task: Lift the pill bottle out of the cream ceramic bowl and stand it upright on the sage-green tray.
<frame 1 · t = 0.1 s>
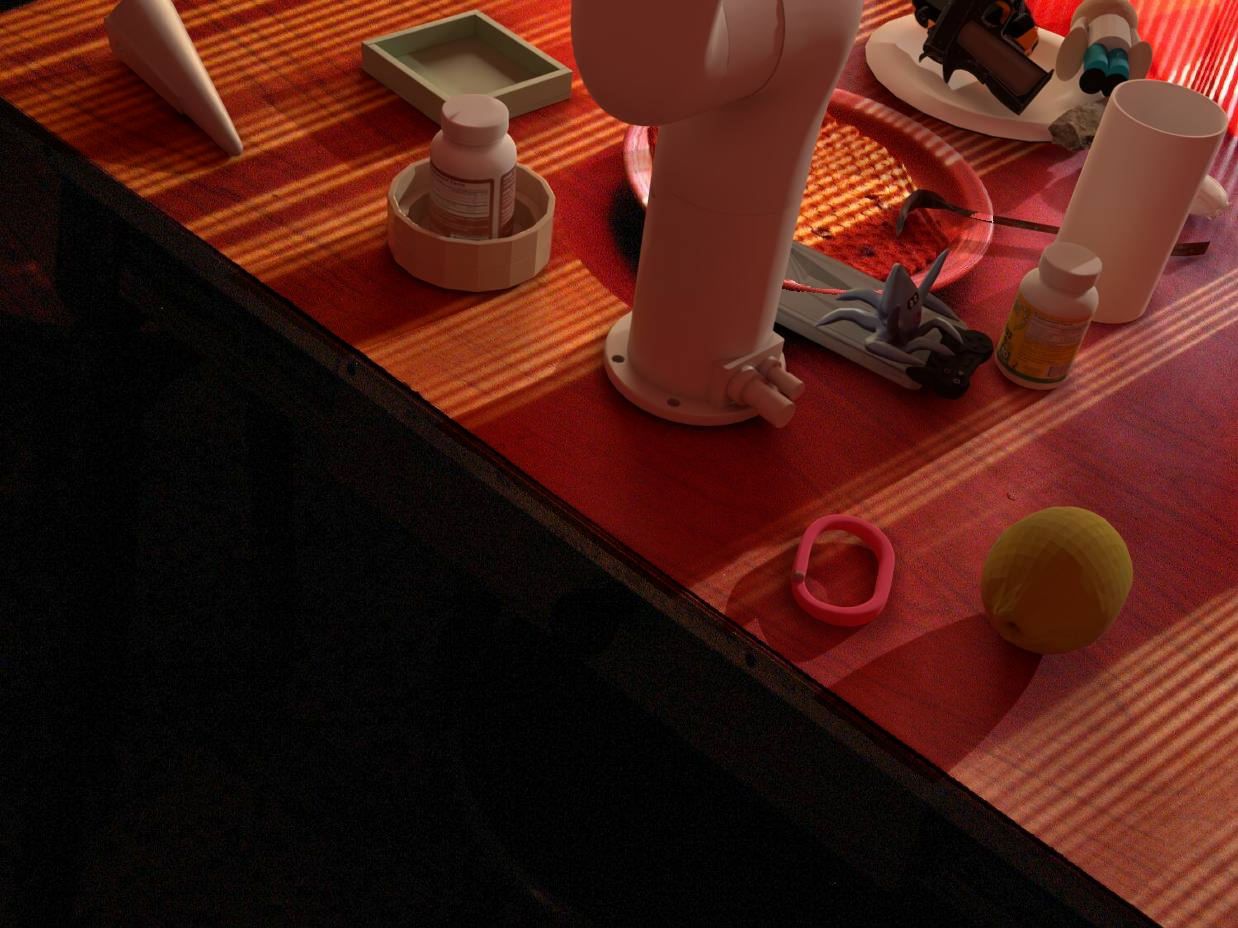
plate: (990, 88, 132), on the table, touching stone, toy, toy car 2
supplement bottle: (1028, 370, 100), on the table
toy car: (1157, 192, 121), on the table, touching stone
stone: (1105, 149, 123), point 1 cm above the table, touching plate, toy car
cup: (1092, 293, 108), on the table
long tapered cone: (200, 102, 115), on the table
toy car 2: (973, 13, 130), point 6 cm above the table, touching handgun, plate
figurine: (890, 363, 97), point 1 cm above the table, touching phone
fitness band: (840, 578, 83), on the table
pill bottle: (470, 245, 104), resting on bowl
tray: (466, 83, 122), on the table
toy: (1106, 80, 125), point 5 cm above the table, touching plate
handgun: (1074, 37, 126), point 7 cm above the table, touching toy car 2
lemon: (1029, 628, 82), on the table
bowl: (470, 247, 104), on the table
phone: (850, 302, 101), point 2 cm above the table, touching figurine
crowbar: (1058, 254, 110), point 1 cm above the table
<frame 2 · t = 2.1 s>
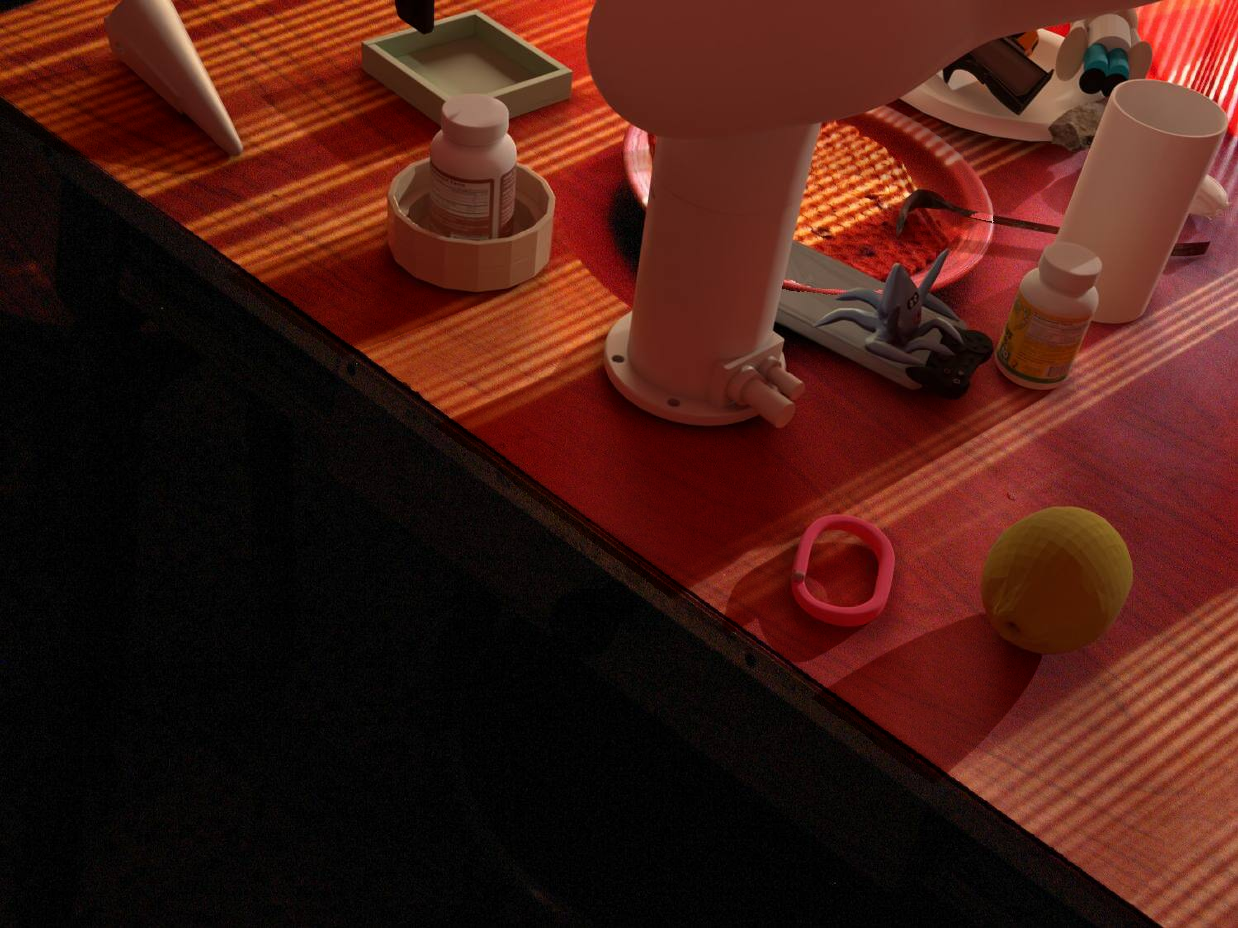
hand: (475, 8, 91), 19 cm above the table, tool pointing down, fingers open, 9 cm apart
plate: (990, 88, 132), on the table, touching handgun, stone, toy, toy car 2
handgun: (1074, 38, 126), point 7 cm above the table, touching plate, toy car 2
everything else where it was.
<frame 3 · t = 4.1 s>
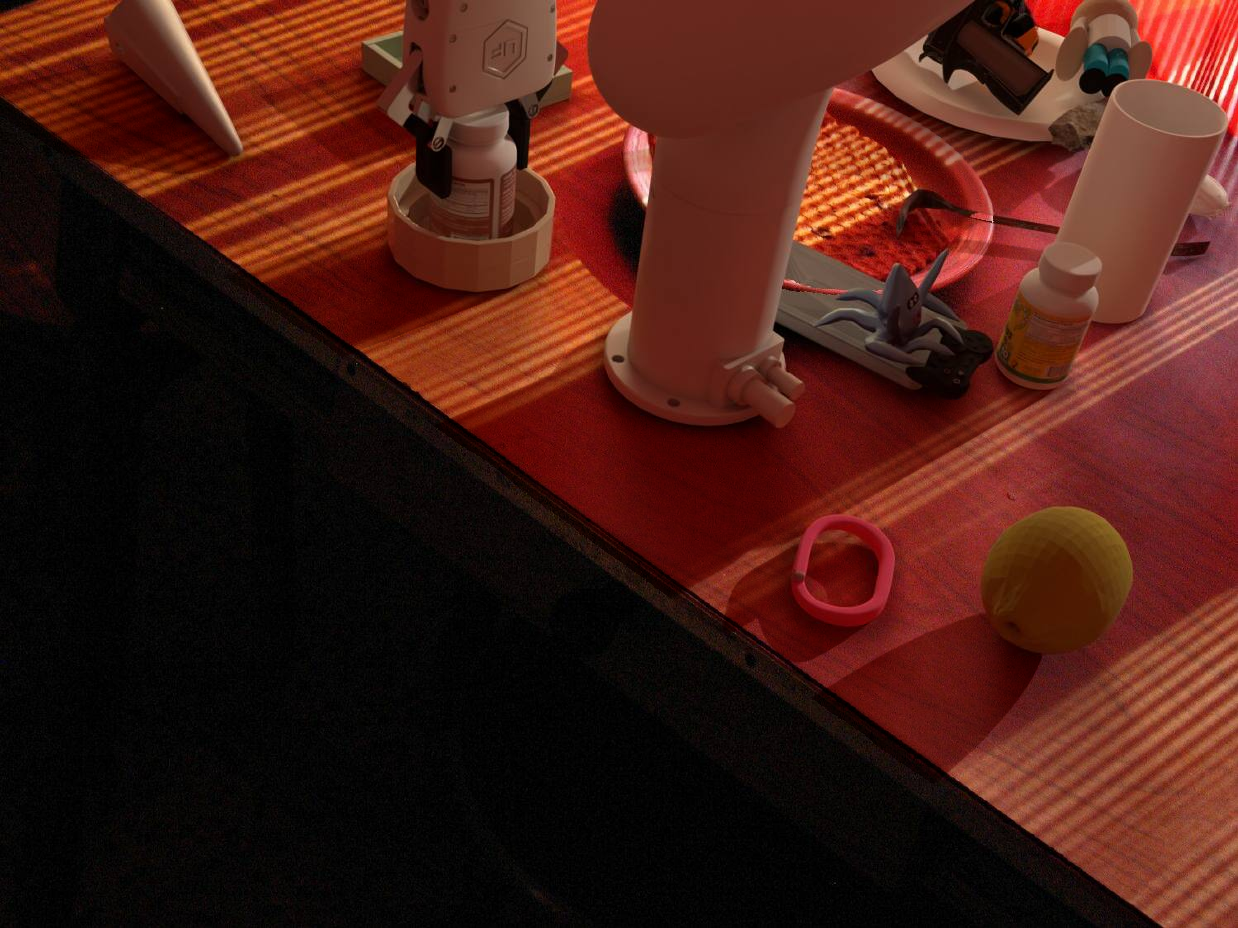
hand: (472, 173, 99), 6 cm above the table, tool pointing down, fingers closed on pill bottle, 6 cm apart
plate: (990, 88, 132), on the table, touching stone, toy, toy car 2
pill bottle: (470, 245, 104), resting on bowl, touching gripper
handgun: (1074, 38, 126), point 7 cm above the table, touching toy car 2
everything else where it was.
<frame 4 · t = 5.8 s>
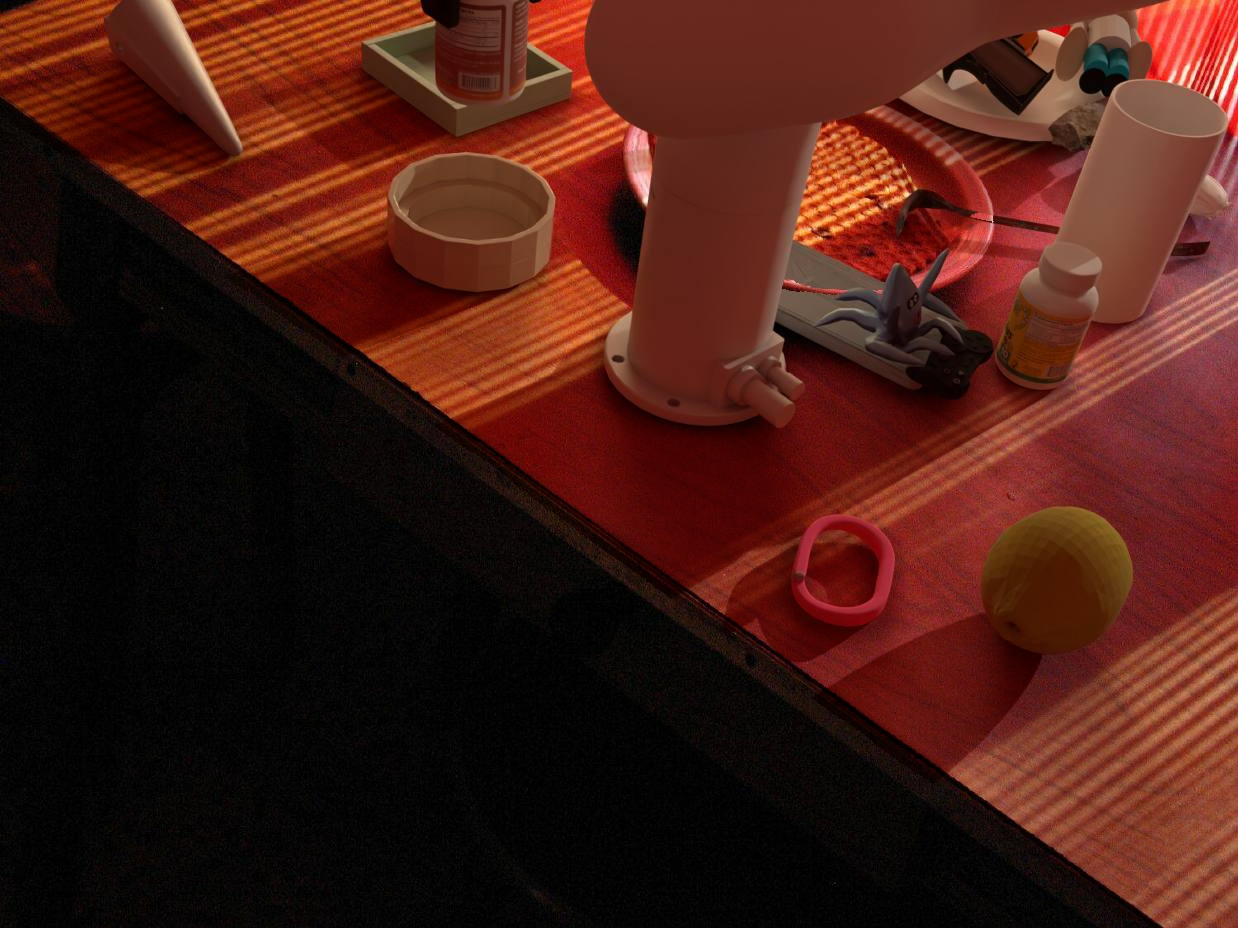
hand: (482, 5, 91), 19 cm above the table, tool pointing down, fingers closed on pill bottle, 6 cm apart
pill bottle: (479, 91, 95), point 13 cm above the table, touching gripper
everything else where it was.
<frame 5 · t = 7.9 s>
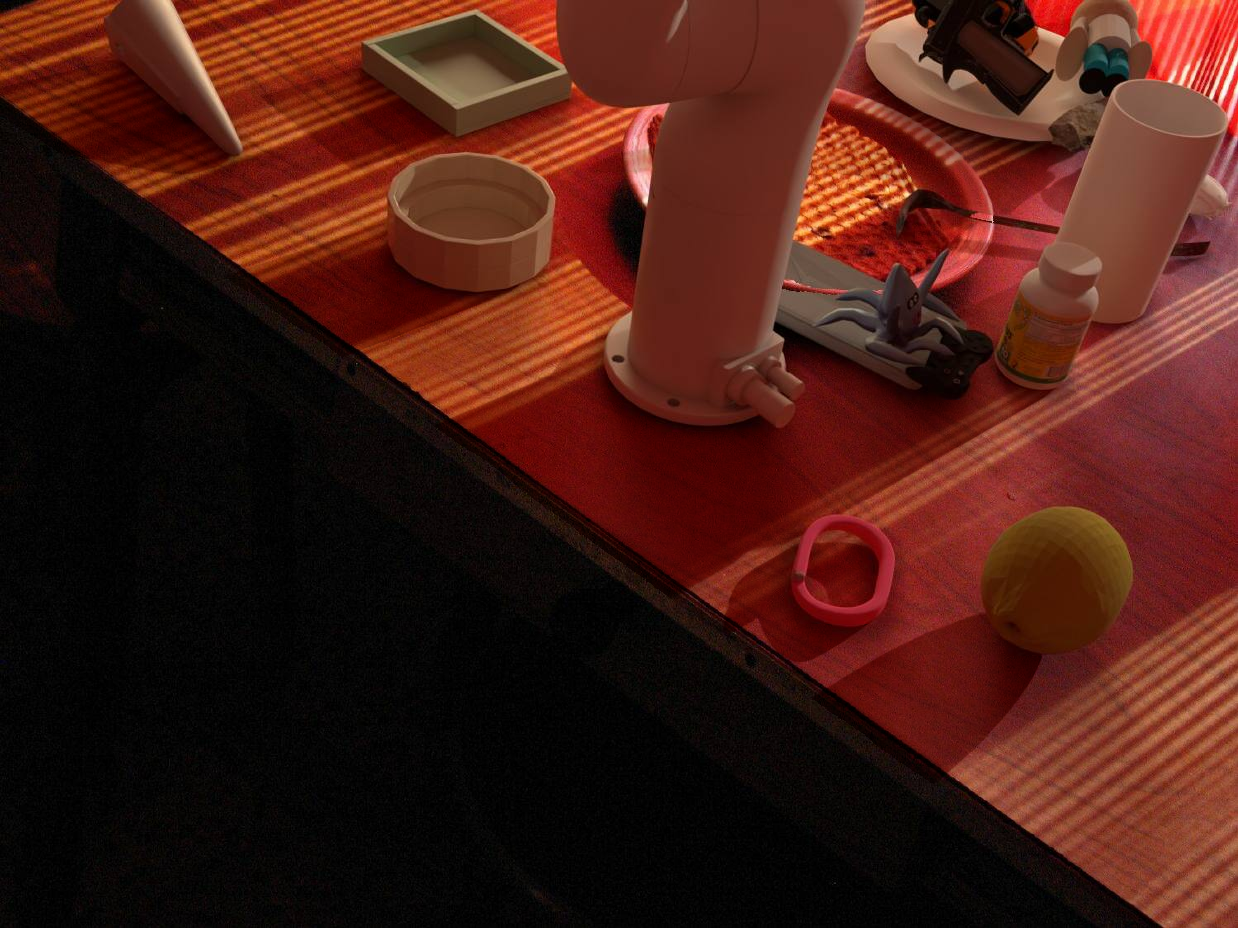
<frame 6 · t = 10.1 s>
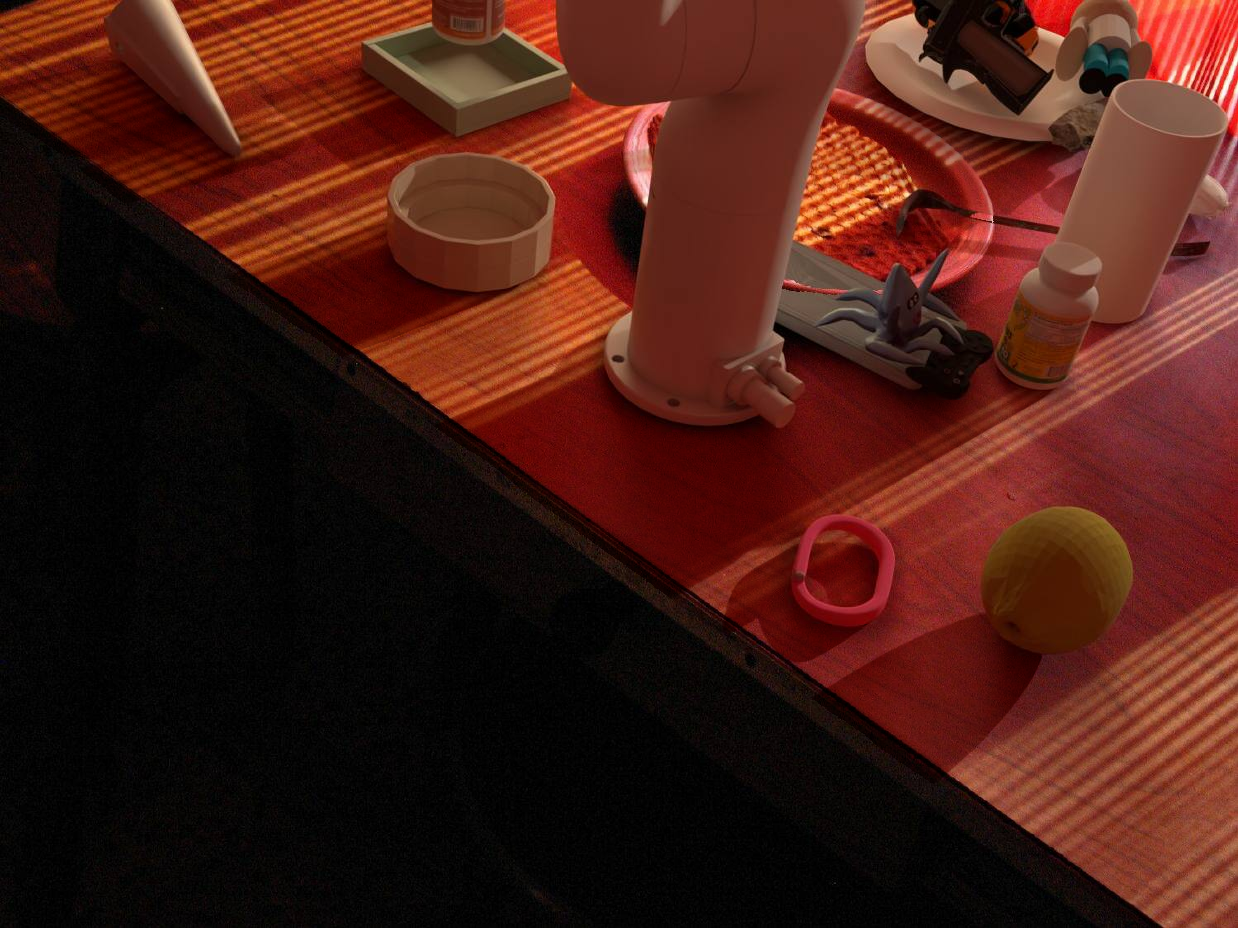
plate: (990, 88, 132), on the table, touching handgun, stone, toy, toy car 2
pill bottle: (467, 33, 119), point 5 cm above the table, touching gripper
handgun: (1074, 38, 126), point 7 cm above the table, touching plate, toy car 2
everything else where it was.
when the fingers open (7 cm above the table, at t = 11.7 s): pill bottle stays where it is, resting on tray.
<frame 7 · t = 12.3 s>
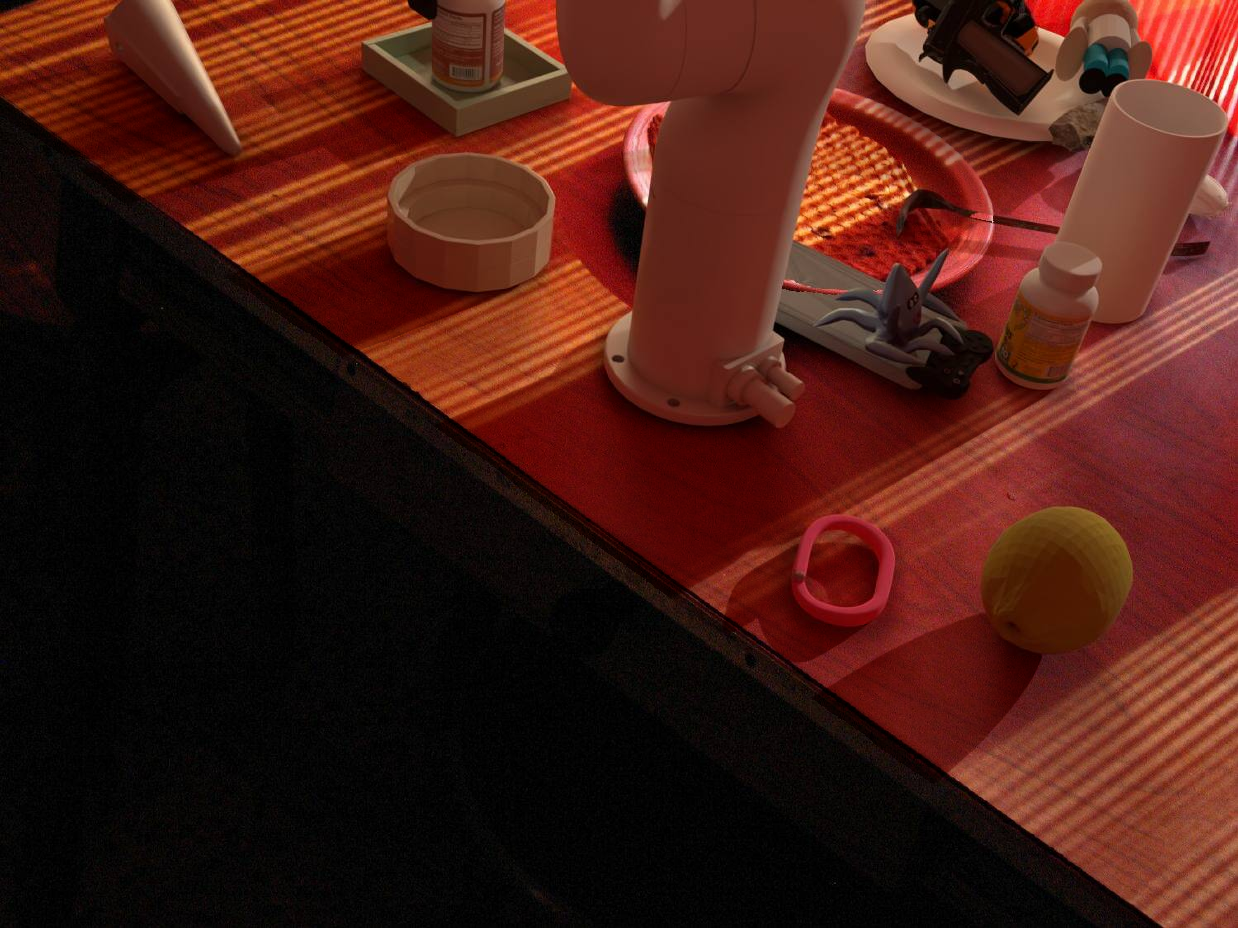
hand: (469, 0, 116), 8 cm above the table, tool pointing down, fingers open, 9 cm apart
plate: (990, 88, 132), on the table, touching stone, toy, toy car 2
pill bottle: (466, 79, 121), resting on tray
handgun: (1074, 38, 126), point 7 cm above the table, touching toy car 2
everything else where it was.
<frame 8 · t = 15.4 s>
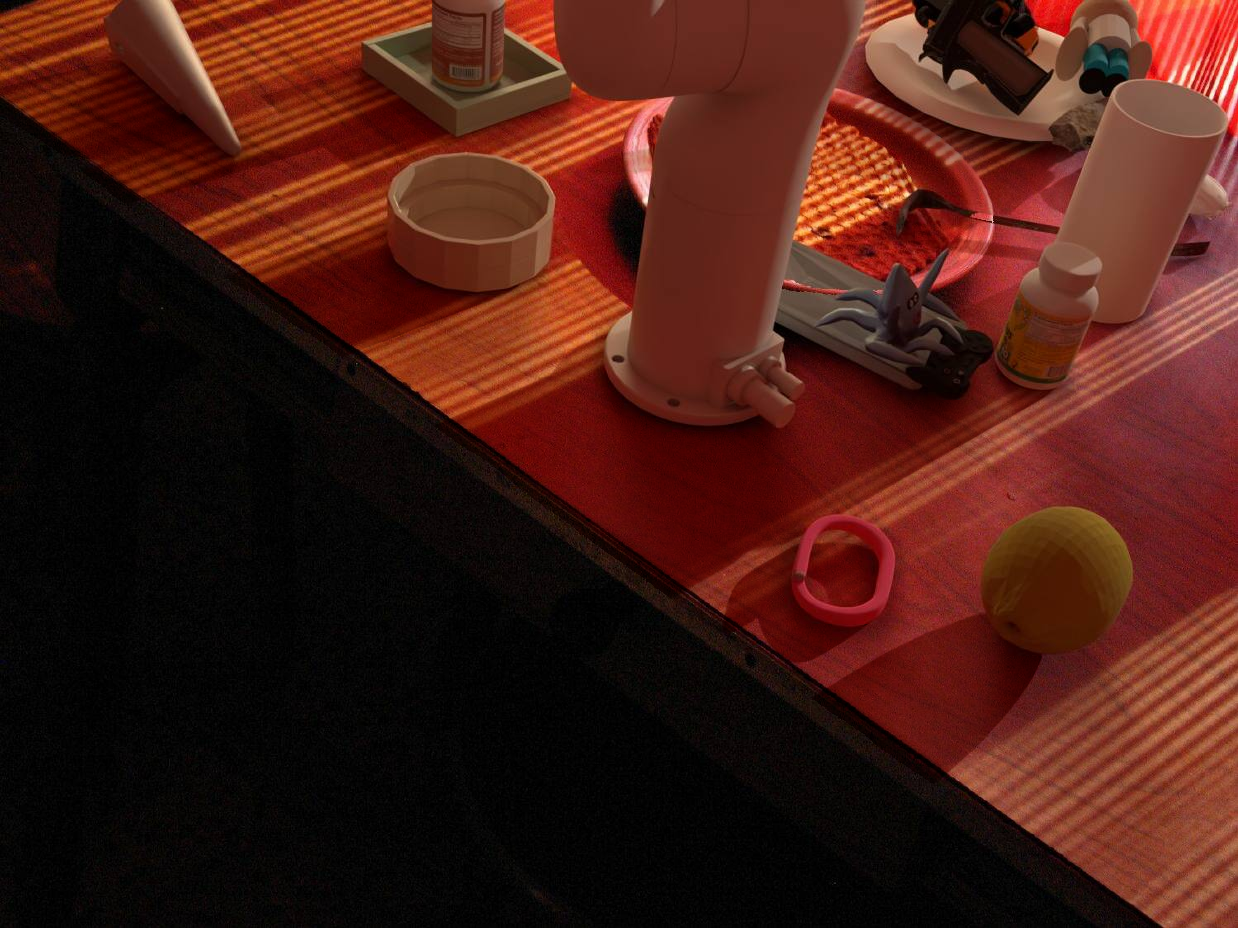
plate: (990, 88, 132), on the table, touching handgun, stone, toy, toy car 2
handgun: (1074, 38, 126), point 7 cm above the table, touching plate, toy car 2
everything else where it was.
at the end: pill bottle inside the target area in the tray (0.1 cm from its centre), point 0.4 cm above the tray's base; pill bottle tilted 0°; the gripper is holding nothing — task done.
